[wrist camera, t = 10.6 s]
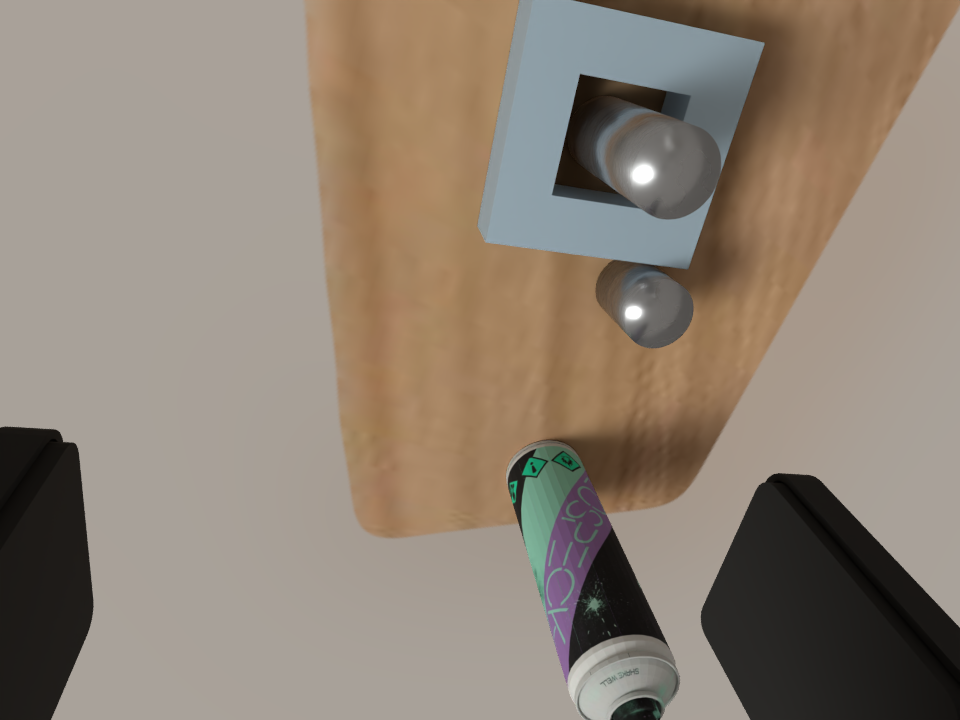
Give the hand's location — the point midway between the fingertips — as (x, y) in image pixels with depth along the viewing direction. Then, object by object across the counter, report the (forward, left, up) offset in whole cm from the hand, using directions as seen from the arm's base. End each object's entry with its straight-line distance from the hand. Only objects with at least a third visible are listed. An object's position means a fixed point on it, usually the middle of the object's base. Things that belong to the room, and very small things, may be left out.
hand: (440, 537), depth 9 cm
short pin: (+6, +16, -30) cm, 35 cm away
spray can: (+21, +14, -31) cm, 40 cm away
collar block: (-2, +12, -30) cm, 33 cm away
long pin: (-2, +12, -30) cm, 33 cm away
